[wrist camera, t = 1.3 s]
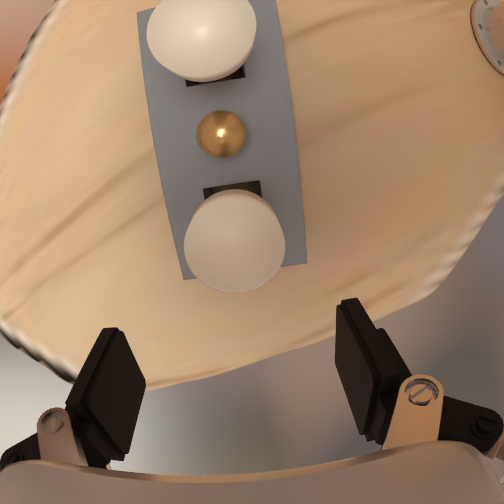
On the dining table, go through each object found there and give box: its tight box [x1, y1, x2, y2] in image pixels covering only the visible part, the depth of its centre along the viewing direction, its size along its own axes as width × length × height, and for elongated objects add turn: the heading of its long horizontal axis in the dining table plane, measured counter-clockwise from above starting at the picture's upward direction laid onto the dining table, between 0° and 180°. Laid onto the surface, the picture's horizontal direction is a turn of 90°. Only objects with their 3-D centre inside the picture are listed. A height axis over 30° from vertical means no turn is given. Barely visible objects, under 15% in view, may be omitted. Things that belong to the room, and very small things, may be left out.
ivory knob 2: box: [184, 189, 285, 293], centre depth 24 cm, size 6×6×9 cm
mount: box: [137, 0, 307, 280], centre depth 27 cm, size 12×26×6 cm, turn 8°
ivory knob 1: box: [147, 0, 256, 82], centre depth 18 cm, size 6×6×9 cm
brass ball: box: [196, 110, 246, 158], centre depth 23 cm, size 4×4×4 cm
